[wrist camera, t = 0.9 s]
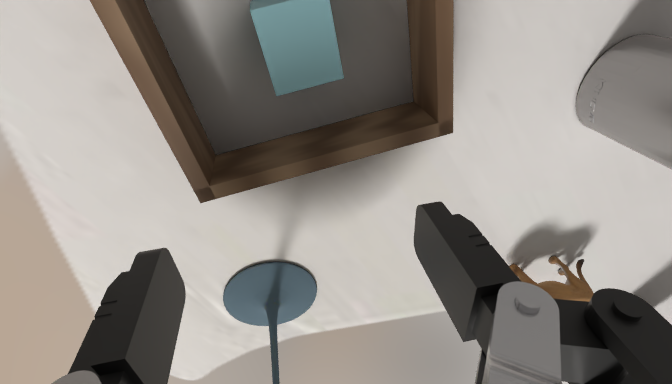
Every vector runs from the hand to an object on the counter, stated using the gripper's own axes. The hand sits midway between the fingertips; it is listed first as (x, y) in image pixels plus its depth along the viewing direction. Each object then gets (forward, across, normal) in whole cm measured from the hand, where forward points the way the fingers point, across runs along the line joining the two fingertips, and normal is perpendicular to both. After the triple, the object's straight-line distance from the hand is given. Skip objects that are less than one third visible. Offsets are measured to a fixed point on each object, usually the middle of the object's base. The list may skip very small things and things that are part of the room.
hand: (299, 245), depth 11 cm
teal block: (+20, -2, -3) cm, 20 cm away
